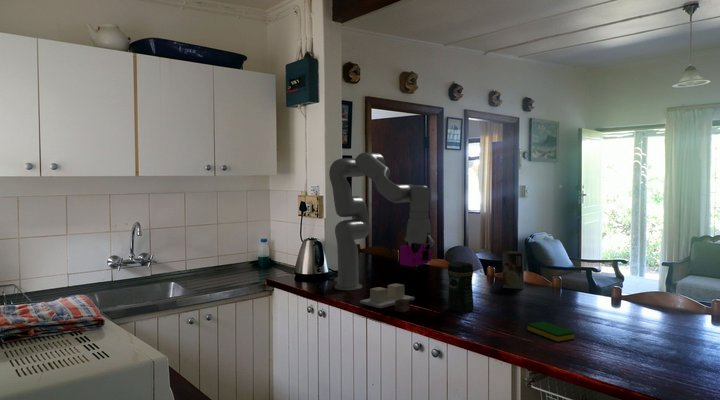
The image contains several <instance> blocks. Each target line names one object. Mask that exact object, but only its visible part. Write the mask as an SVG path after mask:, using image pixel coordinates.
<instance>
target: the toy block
mask: <svg viewBox="0 0 720 400" xmlns="http://www.w3.org/2000/svg"><path fill="white" fill-rule="evenodd" d="M428 244H429V243H428ZM425 246H426V245H425ZM422 251H424V250H423V247H422V244H420V248H419V250H418V251H417V252H416V254H414V253H413V252H412V248H411V246H408V245H407V244H406V245H404V244H403V245H400V246H399V265H402V266H405V267H415V266H422V265H427V264H429V262H432V247H431V248H430V250H429V257H428V260H426V261H423V260H422Z"/></svg>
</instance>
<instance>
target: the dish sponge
mask: <svg viewBox="0 0 720 400" xmlns="http://www.w3.org/2000/svg"><path fill="white" fill-rule="evenodd" d="M527 331H530V332H531V333H535V334H537V335H540V336H543V337H545V338H547V339H551V340H552V341H555V342H561V341H562V342H563V341H566V340H567V341H568V340H574V339H575V331H571V330H569V329H567V328H563V327H560V326H557V325H555V324H552V323H549V322H547V321H544V320H543V321H538V322H532V323H527Z"/></svg>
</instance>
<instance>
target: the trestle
mask: <svg viewBox="0 0 720 400" xmlns="http://www.w3.org/2000/svg"><path fill="white" fill-rule="evenodd" d="M405 292H406V291H405V284H402V283H401V284H400V283H390V284H387V288H385V287H381V286H378V287H372V288H369V298H365V299H362V300H361V299H360V300H359V304H362V305H365V306H370V307H373V308H377V309H383V308H388V307H391V306H395V301H396V300H398V299H406V300H409V302H411V301H415V300H416V297H415V296H411V295H408V294H407V295H406V293H405ZM414 299H415V300H414ZM410 300H411V301H410Z"/></svg>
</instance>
